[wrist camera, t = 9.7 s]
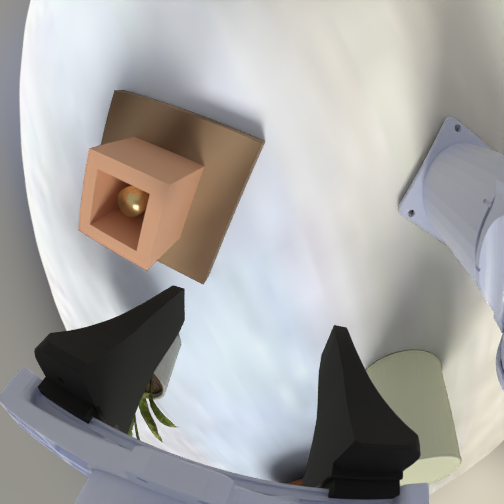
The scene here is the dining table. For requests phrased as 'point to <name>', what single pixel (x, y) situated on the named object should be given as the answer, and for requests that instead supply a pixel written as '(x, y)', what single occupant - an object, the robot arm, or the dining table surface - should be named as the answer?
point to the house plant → (157, 391)
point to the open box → (147, 179)
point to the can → (420, 410)
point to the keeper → (197, 150)
